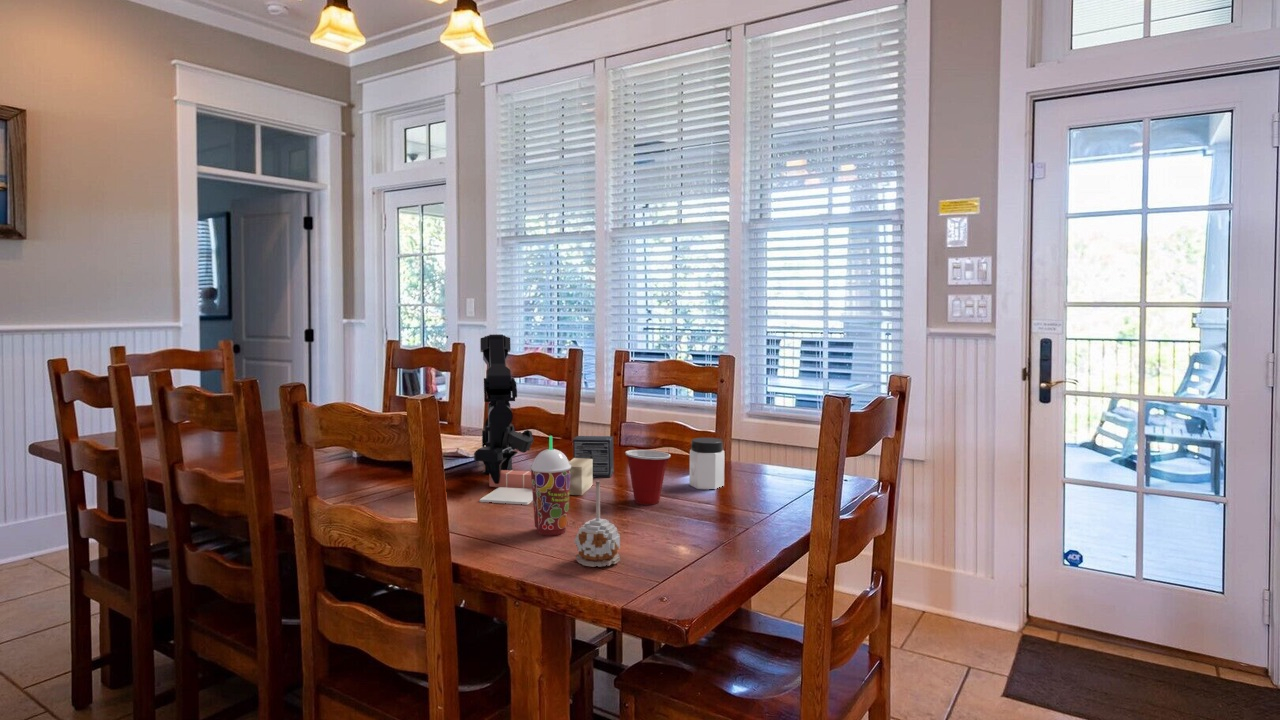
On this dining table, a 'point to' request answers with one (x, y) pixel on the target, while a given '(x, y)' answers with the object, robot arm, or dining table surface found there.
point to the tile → (509, 496)
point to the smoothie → (551, 491)
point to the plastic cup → (647, 474)
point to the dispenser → (581, 475)
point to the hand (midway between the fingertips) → (500, 481)
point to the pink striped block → (513, 479)
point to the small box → (596, 453)
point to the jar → (706, 463)
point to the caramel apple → (597, 540)
